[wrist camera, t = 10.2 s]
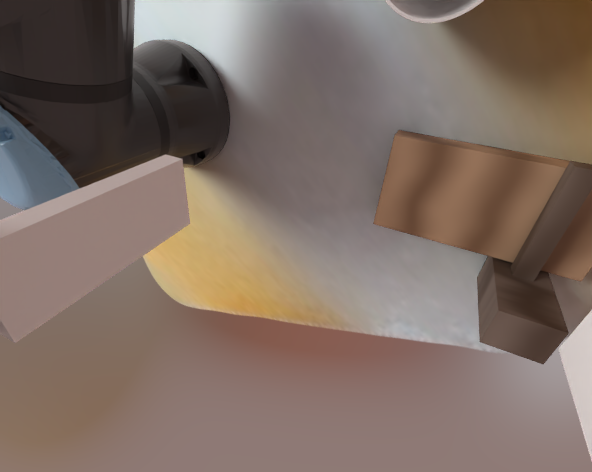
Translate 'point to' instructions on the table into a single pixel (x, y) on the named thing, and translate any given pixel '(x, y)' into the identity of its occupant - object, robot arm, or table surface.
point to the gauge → (531, 279)
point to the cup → (432, 9)
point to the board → (478, 199)
